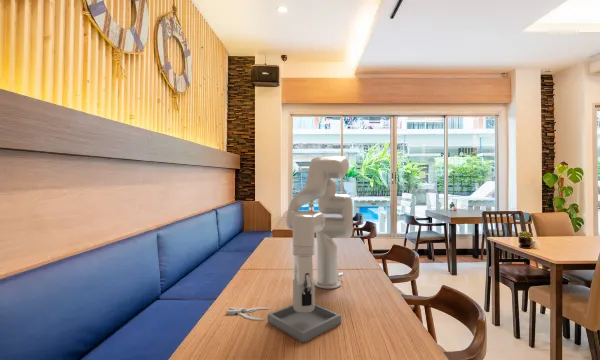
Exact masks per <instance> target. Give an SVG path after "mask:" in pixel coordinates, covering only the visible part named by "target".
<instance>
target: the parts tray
mask: <svg viewBox="0 0 600 360" xmlns="http://www.w3.org/2000/svg"><path fill="white" fill-rule="evenodd" d="M267 324H269V325H271V326H272V327H274V328H276V329H278V330H279V331H281V332H283V333H284V334H287V335H288V336H290V337H292V338H294V339H295V340H297V341H299V342H300V343H302V344H304V343H306V342H308V341H311V340H312V339H314V338H315V337H317V336H320V335H322V334H323V333H326V332H327V331H329V330H331V329H333V328H335V327H338V326H339V325H341V324H342V315H341V314H340V313H337V312H334V311H332V310H330V309H328V308H325V307H324V306H322V305H321V306H320V305H318V304H316V303H315V309H314V310H313V311H312V312H311V313H308V314H300V313H297V312H296V311H295V310H294V309H293V304H291V305H287V306H285V307H283V308H280V309H278V310H274V311H273V312H269V313H267Z"/></svg>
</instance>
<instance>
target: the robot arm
mask: <svg viewBox="0 0 600 360" xmlns="http://www.w3.org/2000/svg"><path fill="white" fill-rule="evenodd" d="M348 172H349V160H348V158H347V157H345V156H343V155H342V156H338V155H337V156H318V157H314V158H312V159H311V160H310V164H309V168H308V173H307V177H306V182H305V186H304V188H302V189H300V191H299V192H297V193H296V195H295V196H293V198H292V199H291V201H290V203H289V205H288V211H287V214H286V220H285V221H286V222H285V223H286V226H287V227H286V228H287V229H288V230H290V231H292V255H293V256H294V257H293V280H294V279H295V276H296V278H297V279H296V280H297V284H298V285H299V286H301V285H302V290H303V294H302V306H310V305H312V292H311V285H312V284H313V279H314V273H313V272H314V270H313V265H314V264H313V256H314V255H315V237H316V244H317V245H316V257H317V258H316V259H317V260H316V262H317V267H316V268H317V269H316V272H317V273H316V276H317V278H316V279H314V281H315V287H317V288H319V289H325V290H326V289H327V290H330V289H331V290H332V289H336V288H337V289H338V288H339V287H341V285H342V282H341V280H340V278H342V277H344V272H343V271H342V272H339V271H338V269H339V266H338V246H337V243H336V242H335V240H334V239H344V240H345V239H349V238H352V235H353V230H354V227H353V225H354V223H353V221H354V220H353V219H354V216H353V215H354V214H353V213H354V212H353V211H354V210H353V209H354V208H353V207H354V205H353V200H352V197H351V196H350V195H349V194H347V193H346V194H345V193H341V194H338V193H337V182H336V181H335V179H342V178H344V177H345V176H346V175H347V174H348ZM316 200H318V202H317V203H318V205H317V206H318V211H316V210H313V211H312V210H311V211H309V210H300V208H302V207H303V206H304V205H306V204H308V203H310V202H311V203H312V202H313V201H316ZM325 215H340V216H341V217H335V216H334V217H333V216H331V217H330V216H325ZM338 272H339V273H338ZM304 282H306V284H304ZM304 286H307V288H304Z"/></svg>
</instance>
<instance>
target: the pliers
mask: <svg viewBox="0 0 600 360" xmlns="http://www.w3.org/2000/svg"><path fill="white" fill-rule="evenodd" d="M259 310H270V307H262V306H261V307H251V308H247V309H246V308H245V307H239V308H237V307H233V306H232V307H230V306H229V307H228V310H226V312H225V313H226V315H234V316H235V314H237V315H239V316H242V317H243V318H244V319H247V320H250V321H251V320H252V321H264V320H265V319H264V318H261V317H254V316H253V315H252V314H251V313H255V312H256V311H259ZM246 313H247V314H246Z"/></svg>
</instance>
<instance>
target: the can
mask: <svg viewBox="0 0 600 360" xmlns="http://www.w3.org/2000/svg"><path fill="white" fill-rule="evenodd" d="M296 279H297V278H296V276H295V279H294V278H293V280H292V305H293V309H294V310H295V311H296V312H297V313H300V314H308V313H311V312H312V311H313V310H314V309H315V304H316V303H315V297H316V296H315V295H316V294H315V291H316V290H315V289H316V288H315V287H316V286H315V279H314V278H313V284H312V285H311V292H312V305H310V306H302V294H303V290H302V285H301V286H299V285H298V284H297V280H296ZM304 284H306V282H304ZM304 288H307V286H304Z"/></svg>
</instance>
